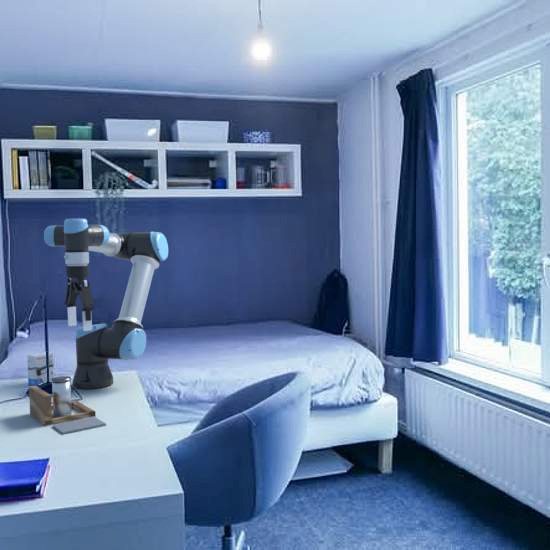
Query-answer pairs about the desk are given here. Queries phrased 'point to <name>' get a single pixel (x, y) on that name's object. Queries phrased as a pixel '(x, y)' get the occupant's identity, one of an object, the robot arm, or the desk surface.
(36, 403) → the frame
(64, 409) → the canister
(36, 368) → the ink box
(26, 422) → the desk surface
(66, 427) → the felt pad
